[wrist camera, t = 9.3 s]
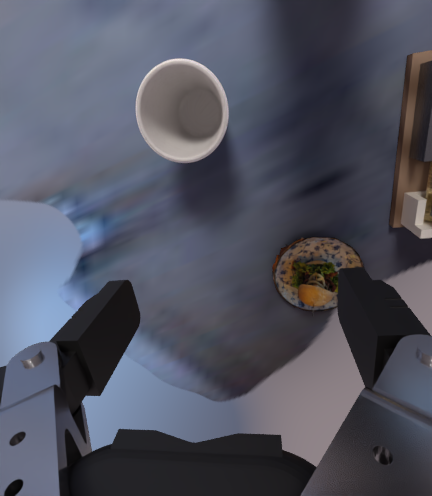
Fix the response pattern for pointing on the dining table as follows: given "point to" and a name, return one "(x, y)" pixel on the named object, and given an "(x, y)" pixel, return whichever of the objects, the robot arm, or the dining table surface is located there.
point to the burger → (313, 272)
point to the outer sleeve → (423, 116)
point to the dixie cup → (182, 110)
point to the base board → (408, 142)
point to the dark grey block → (429, 197)
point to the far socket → (416, 214)
